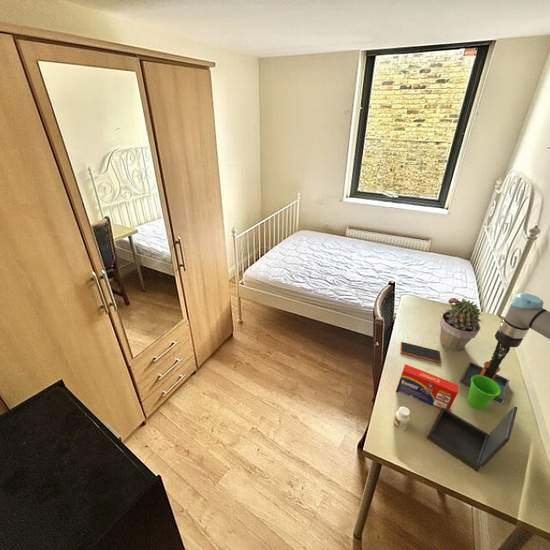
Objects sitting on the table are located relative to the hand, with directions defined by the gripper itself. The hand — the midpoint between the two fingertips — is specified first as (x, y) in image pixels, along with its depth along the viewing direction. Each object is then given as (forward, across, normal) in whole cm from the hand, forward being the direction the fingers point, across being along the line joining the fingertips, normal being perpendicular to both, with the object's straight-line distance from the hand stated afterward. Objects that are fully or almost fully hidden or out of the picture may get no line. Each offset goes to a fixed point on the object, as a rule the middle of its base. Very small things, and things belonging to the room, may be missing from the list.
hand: (486, 377), depth 116 cm
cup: (+3, +14, 0) cm, 14 cm away
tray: (+3, 0, 0) cm, 3 cm away
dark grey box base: (+3, +34, -1) cm, 34 cm away
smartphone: (+3, +1, -25) cm, 25 cm away
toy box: (+3, +26, -15) cm, 30 cm away
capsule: (+2, 0, 0) cm, 2 cm away
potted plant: (+4, -17, -16) cm, 24 cm away
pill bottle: (+3, +42, -17) cm, 45 cm away
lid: (-8, +34, +7) cm, 36 cm away
